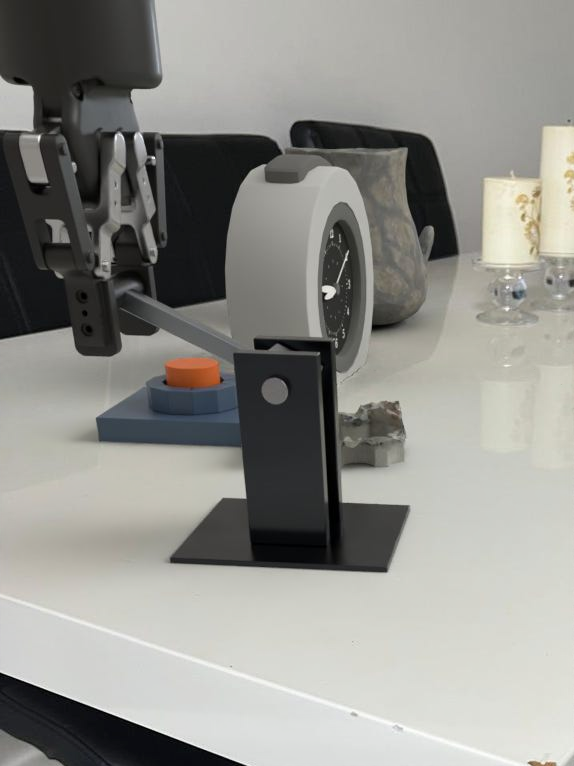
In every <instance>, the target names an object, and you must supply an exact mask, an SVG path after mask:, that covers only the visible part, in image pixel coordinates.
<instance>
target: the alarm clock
mask: <svg viewBox="0 0 574 766" xmlns="http://www.w3.org/2000/svg"><path fill="white" fill-rule="evenodd" d="M229 219H230V220H229V224H228V230H227V235H226V248H225V263H224V264H225V265H224V275H225V276H224V277H225V301H226V311H227V317H228V323H229V331H230V335H231V336H230V337H231V338H233V339H235V340H237V341H239V342H241V343H243V344H245V345H247V346H249V347H251V348H253V349H254V341H253V339H254V338H255V337H256V336H258V335H267V336H298V337H328V338H335V352H336V374H337V385H339V384H341V383H343V382H344V381H345V380H347V378H349V377H350V376H351V375H353V374H354V373H356V372H357V371H359V370H360V369H361V368H362V367H364V366H365V365H366V361H367V357H368V353H369V347H370V340H371V334H372V326H373V325H372V314H373V260H372V246H371V239H370V232H369V225H368V219H367V215H366V211H365V207H364V203H363V199H362V196H361V194H360V191H359V189H358V186H357V184H356V182H355V180H354V179H353V178H352V176H351V175H350V173H349V172H348V171H347V170H345V169H342V168H339V167H333V166H332V165H331V164H330V163H329V162H328V161H327V160H325V159H324V158H322V157H320V156H317V155H293V154H285V153H284V154H283V153H282V154H280V155H277V156H276V157H274V158H273V159H272V160H270V161H269V162H268V163H267V164H266V163H265V164H263V163H262V164H261V165H259V166H257V167H255V168H253V169H251V170H250V171H249V172H248V174H247V175H246V177H245V178H244V180H243V181H242V182H241V184H240V186H239V188H238V191H237V194H236V196H235V199H234V202H233V204H232V208H231V213H230V218H229Z"/></svg>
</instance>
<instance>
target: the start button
mask: <svg viewBox="0 0 574 766" xmlns="http://www.w3.org/2000/svg"><path fill="white" fill-rule="evenodd" d="M219 366H220V364H219V361H218V360H216V359H213V358H209V357H183V358H176V359H175V358H174V359H171V360H167V361H166V362H164V370H165V371H164V373H165V374H166V380H167V386H172V387H181V388H197V387H208V386H213V385H217V384H220V374H219V372H220V367H219Z"/></svg>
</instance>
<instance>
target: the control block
mask: <svg viewBox="0 0 574 766" xmlns="http://www.w3.org/2000/svg"><path fill="white" fill-rule="evenodd" d="M219 374H220V384H217V385H213V386H208V387H197V388H181V387H172V386H167V380H166V373H165V374H160V375H156V376H153V377H151V378H149V380H147V381H145V386H143V387H142V388H140V389H138V390H137V391H135V392H134V393H131V394H130V395H129V396H127V397H126V398H124V399H122V400H121V401H119V402H118V403H116V404H115V405H113V406H111V407H110V408H108V409H107V410H105V411H104V412H102V413H101V414H99V415H98V416H96V417H95V423H96V428H97V435H98V441H99V442H101V443H103V442H104V443H128V444H130V443H131V444H154V445H178V446H179V445H181V446H207V447H233V448H235V447H236V448H242V447H241V436H240V425H239V414H238V403H237V392H236V381H235V374H231V373H227V372H222V371H219Z"/></svg>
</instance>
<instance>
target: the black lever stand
mask: <svg viewBox="0 0 574 766" xmlns="http://www.w3.org/2000/svg"><path fill="white" fill-rule="evenodd" d="M253 341H254V349H255V350H242V349H239V350H237V351H235V352H234V353H233V360H234V364H233V369H234V375H235V381H236V392H237V403H238V414H239V425H240V436H241V447H240V448H241V455H242V466H243V477H244V489H245V498H242V497H241V498H240V497H222V498H221V499H220V500H219V501H218V502H217V504H216V505H214V507H213V508H212V509H211V510H210V512H209V513H208V514H207V515H206V516H205V517H204V518H203V520H202V521H200V523H199V524H198V525H197V526H196V527H195V528H194V529H193V530H192V532H191V533H190V534H189V535H188V536H187V538H186V539H184V541H183V542H181V544H180V545H179V546H178V548H177V549H176V550H174V552H173V553H172V554H171V556H169V563H170V564H180V565H181V564H184V565H203V566H205V565H206V566H227V567H229V566H230V567H250V568H251V567H252V568H270V569H271V568H273V569H275V568H276V569H295V570H297V569H298V570H299V569H300V570H317V571H318V570H321V571H343V572H362V573H363V572H364V573H388V572H389V569H390V567H391V565H392V561H393V558H394V556H395V553H396V550H397V547H398V544H399V542H400V539H401V537H402V534H403V531H404V529H405V526H406V523H407V520H408V518H409V515H410V512H411V505H410V504H390V503H388V504H387V503H385V504H384V503H364V502H363V503H362V502H343V487H342V486H343V484H342V467H341V462H340V440H339V418H338V413H339V401H338V399H339V397H338V384H337V374H336V352H335V338H328V337H298V336H267V335H258V336H256V337H255V338H254V339H253ZM276 344H280V345H282V346H284V347H286V348H288V349H290V350H292V351H272V350H269V349H271V348H272V347H273V346H274V345H276ZM321 365H322V366H323V369H322V371H321Z"/></svg>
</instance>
